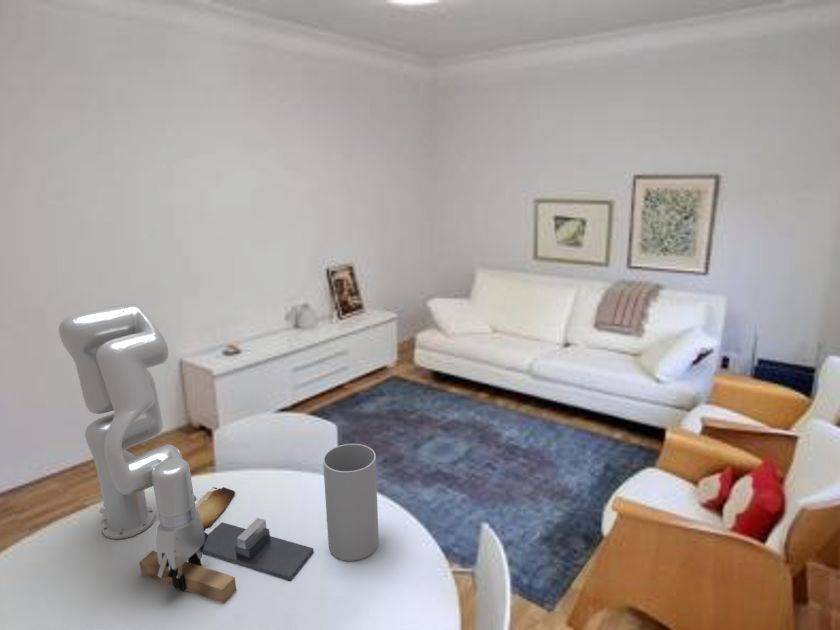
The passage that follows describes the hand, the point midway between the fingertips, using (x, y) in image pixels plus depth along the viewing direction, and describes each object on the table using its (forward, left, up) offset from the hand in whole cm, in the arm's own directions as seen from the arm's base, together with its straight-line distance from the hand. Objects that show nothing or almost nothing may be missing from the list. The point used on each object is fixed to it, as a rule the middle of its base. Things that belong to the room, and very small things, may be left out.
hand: (188, 579), depth 125 cm
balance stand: (+8, +14, -1) cm, 16 cm away
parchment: (-14, +20, -1) cm, 25 cm away
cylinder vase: (+30, +24, -1) cm, 39 cm away
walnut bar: (0, 0, -1) cm, 1 cm away
